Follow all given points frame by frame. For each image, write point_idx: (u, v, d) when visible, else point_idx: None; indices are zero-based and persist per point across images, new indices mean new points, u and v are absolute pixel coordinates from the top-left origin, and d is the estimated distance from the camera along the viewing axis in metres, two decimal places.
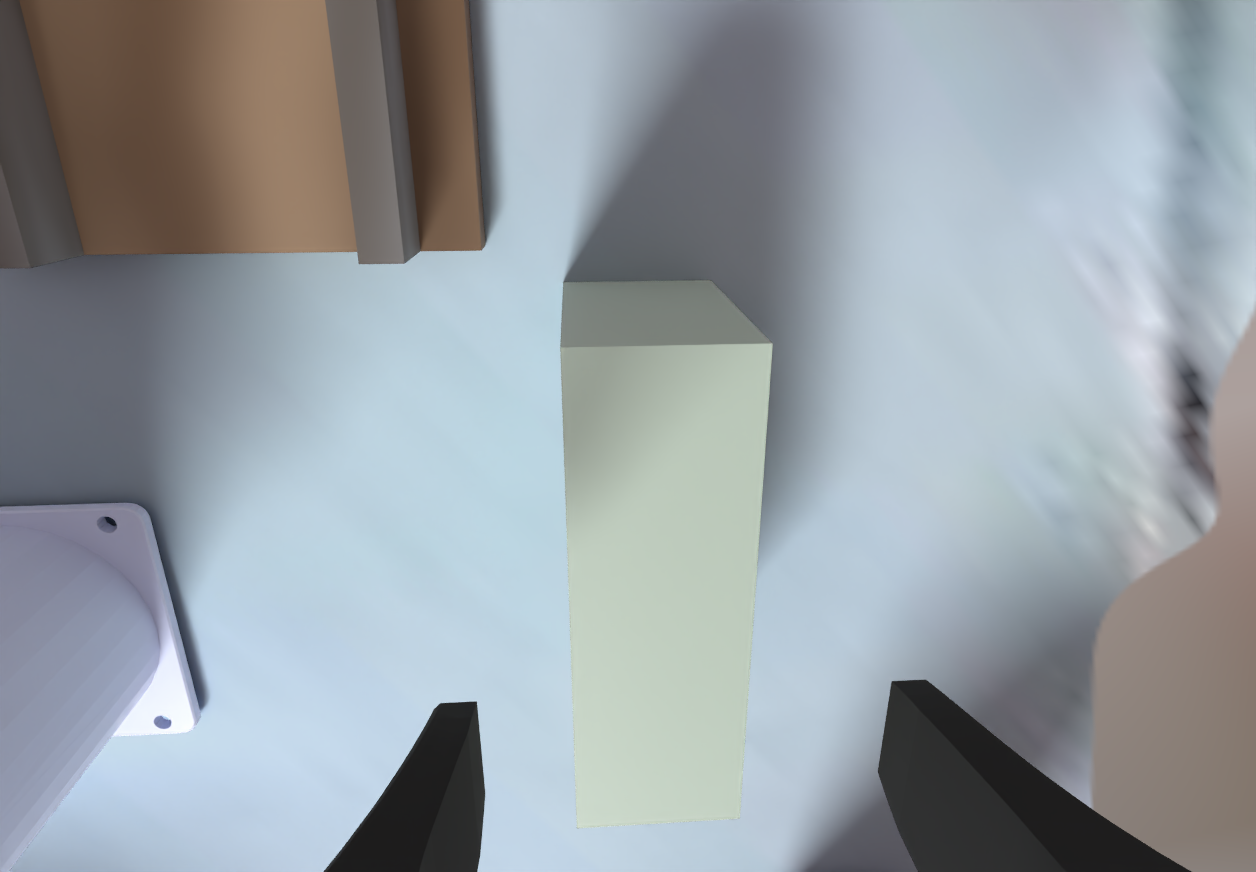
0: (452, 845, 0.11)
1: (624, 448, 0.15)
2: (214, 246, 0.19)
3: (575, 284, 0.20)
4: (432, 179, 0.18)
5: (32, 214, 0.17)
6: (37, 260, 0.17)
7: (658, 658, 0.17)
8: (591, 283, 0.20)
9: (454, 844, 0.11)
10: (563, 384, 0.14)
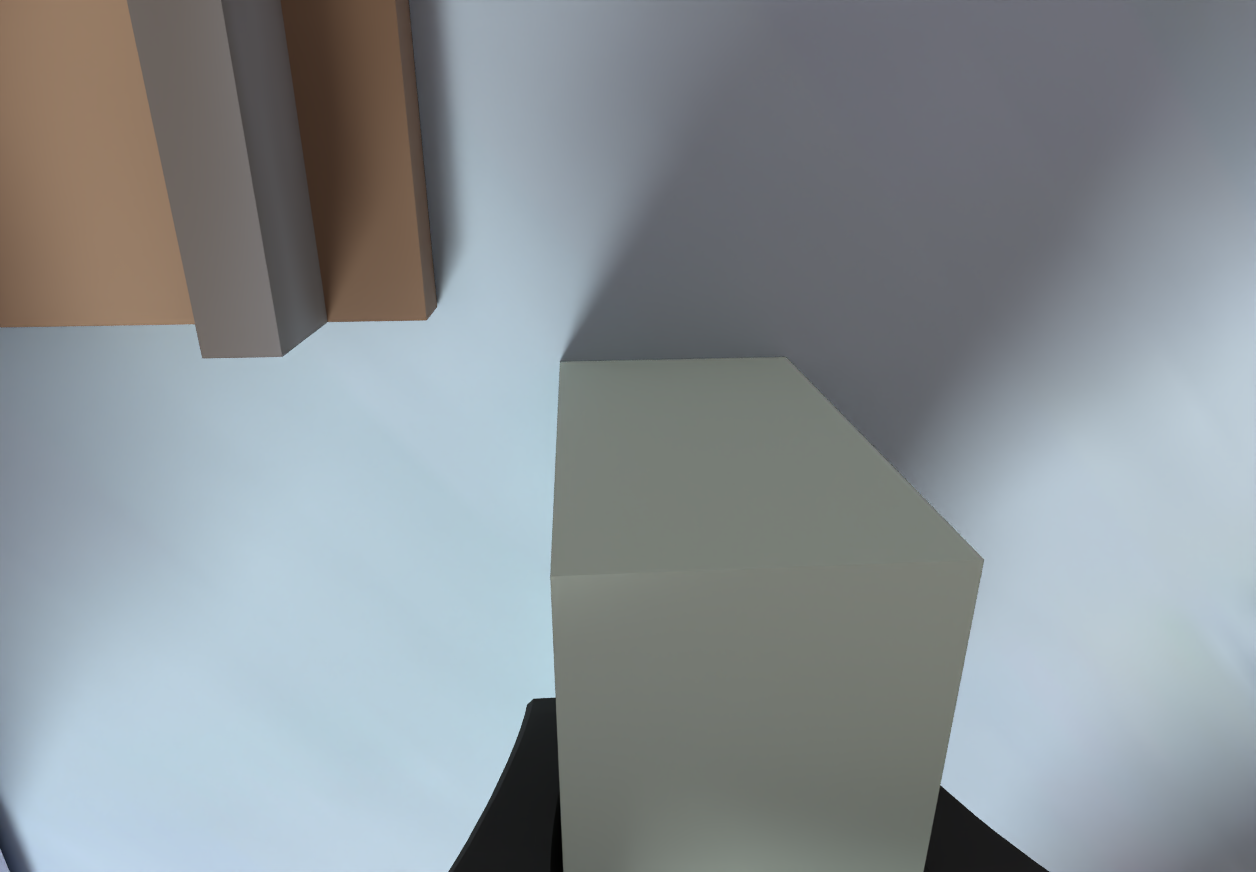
0: None
1: (678, 748, 0.08)
2: None
3: (578, 369, 0.13)
4: (343, 207, 0.11)
5: None
6: None
7: None
8: (603, 366, 0.13)
9: None
10: (557, 644, 0.07)
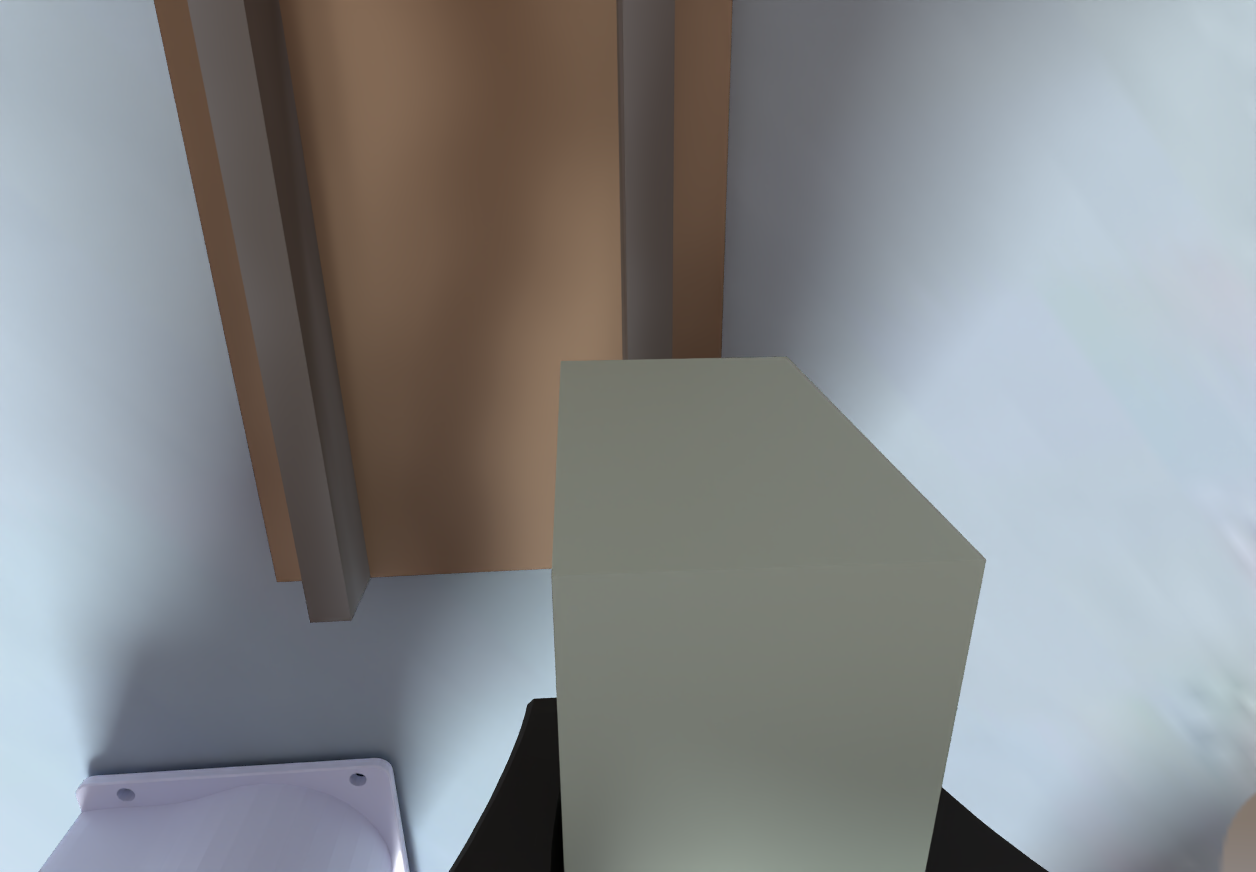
0: (562, 838, 0.11)
1: (680, 748, 0.08)
2: (483, 566, 0.21)
3: (579, 368, 0.13)
4: None
5: (350, 571, 0.19)
6: (353, 609, 0.19)
7: None
8: (604, 366, 0.13)
9: None
10: (557, 643, 0.07)
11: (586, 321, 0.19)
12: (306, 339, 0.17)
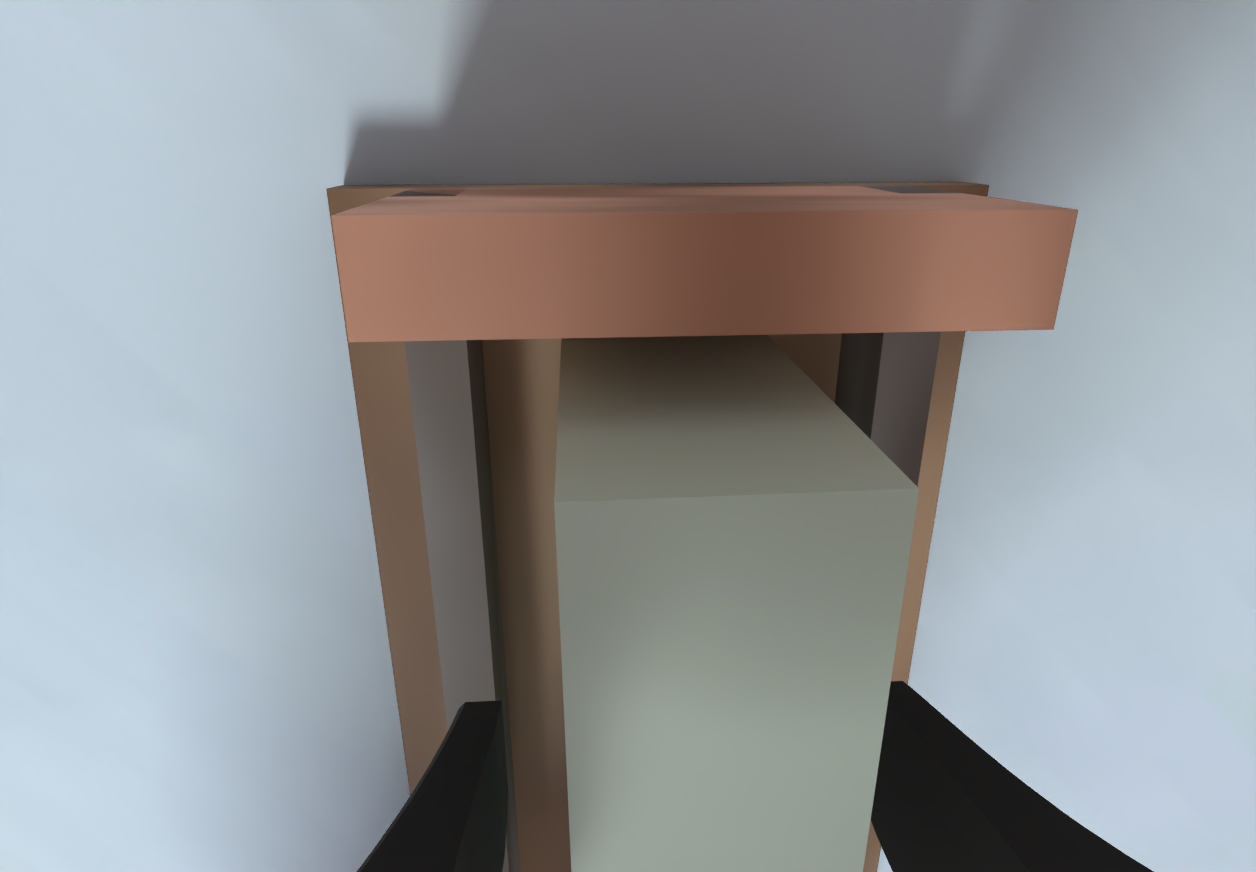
0: (481, 843, 0.11)
1: (663, 655, 0.09)
2: None
3: (578, 346, 0.14)
4: None
5: None
6: None
7: None
8: (601, 343, 0.14)
9: (483, 842, 0.11)
10: (560, 561, 0.08)
11: None
12: None
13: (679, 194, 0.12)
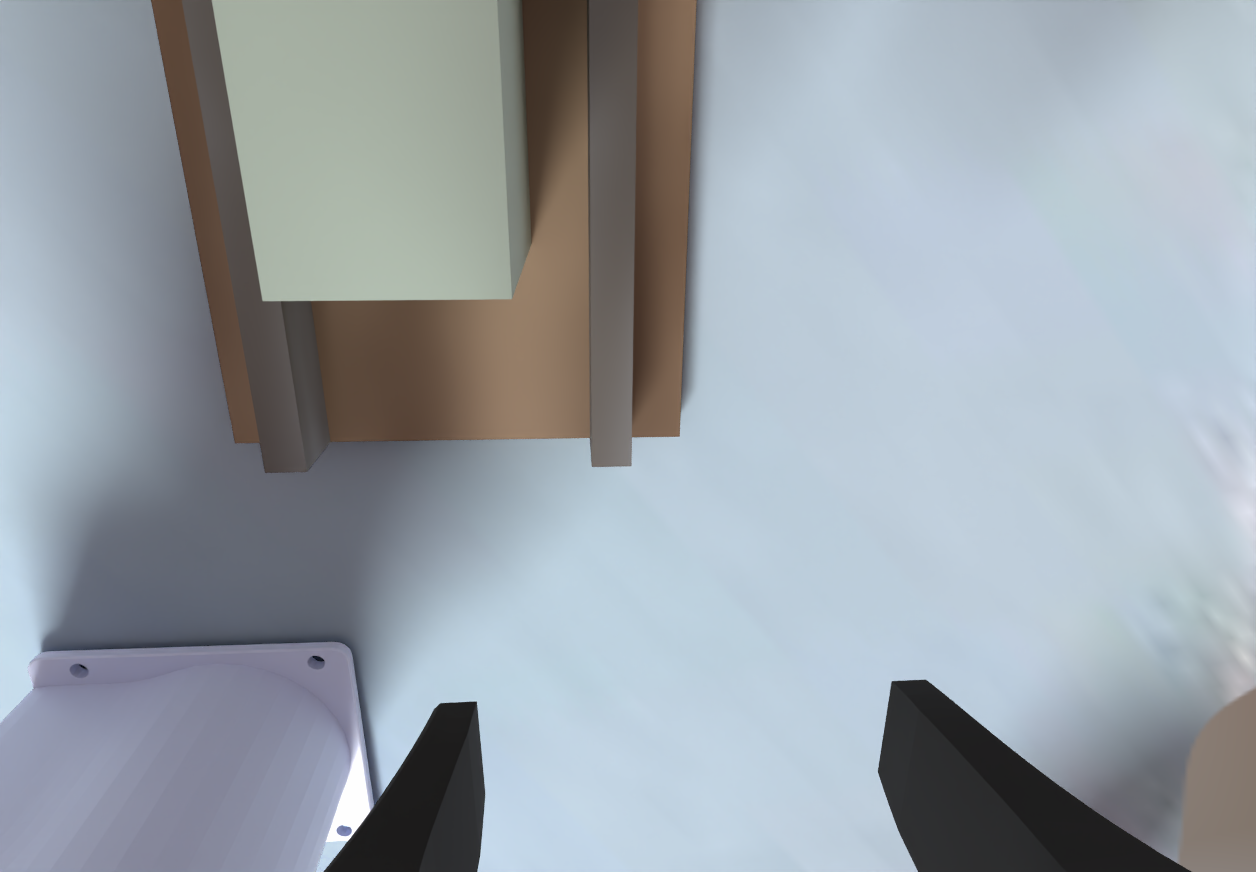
0: (452, 845, 0.11)
1: None
2: (445, 434, 0.21)
3: None
4: (643, 378, 0.21)
5: (308, 423, 0.19)
6: (310, 462, 0.19)
7: None
8: None
9: (454, 844, 0.11)
10: None
11: (552, 173, 0.19)
12: None
13: None
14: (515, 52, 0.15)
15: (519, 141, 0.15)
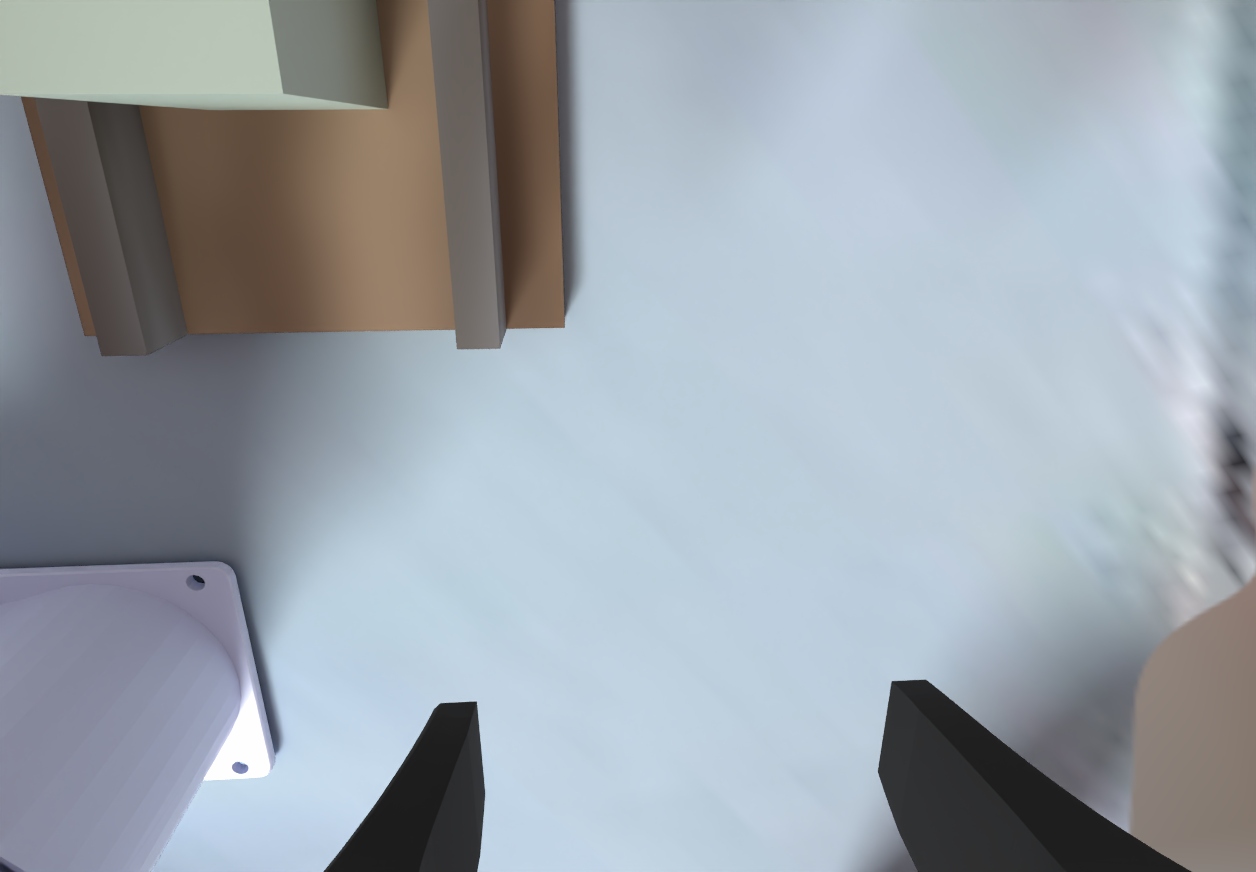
0: (452, 845, 0.11)
1: None
2: (311, 325, 0.19)
3: None
4: (521, 262, 0.19)
5: (148, 303, 0.18)
6: (152, 346, 0.18)
7: None
8: None
9: (454, 844, 0.11)
10: None
11: (404, 28, 0.17)
12: None
13: None
14: None
15: None
